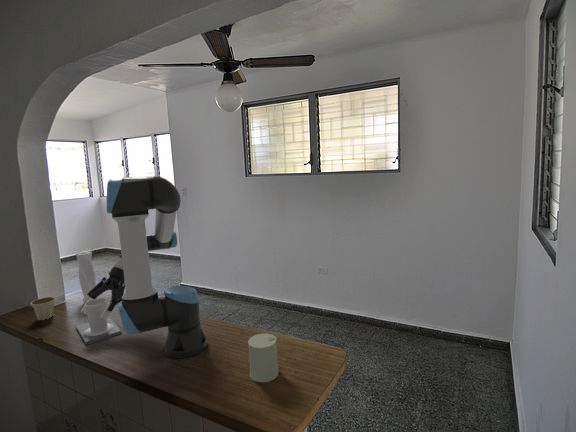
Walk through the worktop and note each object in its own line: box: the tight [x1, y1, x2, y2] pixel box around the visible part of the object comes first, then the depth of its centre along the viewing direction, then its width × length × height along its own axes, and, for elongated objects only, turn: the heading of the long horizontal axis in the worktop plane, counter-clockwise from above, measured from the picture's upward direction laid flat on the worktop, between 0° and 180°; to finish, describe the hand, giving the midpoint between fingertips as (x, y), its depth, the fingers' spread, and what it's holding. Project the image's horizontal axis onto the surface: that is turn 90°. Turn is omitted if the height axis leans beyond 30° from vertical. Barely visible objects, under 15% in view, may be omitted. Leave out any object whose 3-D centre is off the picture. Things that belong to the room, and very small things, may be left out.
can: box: [247, 333, 280, 383], centre depth 110 cm, size 9×9×12 cm
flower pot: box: [30, 296, 56, 321], centre depth 162 cm, size 9×9×9 cm
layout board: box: [75, 315, 122, 346], centre depth 146 cm, size 20×13×1 cm, turn 41°
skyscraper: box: [75, 247, 98, 303], centre depth 181 cm, size 8×8×28 cm
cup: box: [84, 298, 108, 333], centre depth 144 cm, size 8×8×12 cm
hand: (92, 315), depth 142 cm, fingers open, 13 cm apart
